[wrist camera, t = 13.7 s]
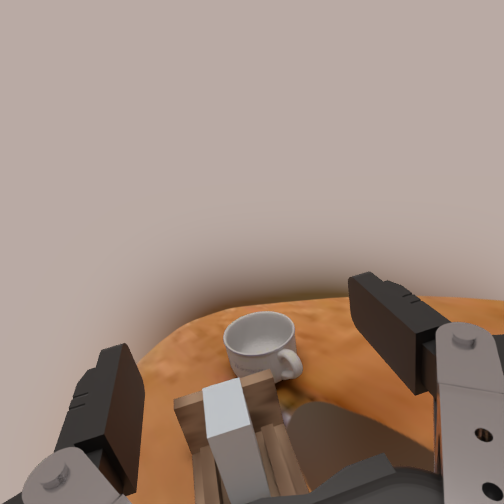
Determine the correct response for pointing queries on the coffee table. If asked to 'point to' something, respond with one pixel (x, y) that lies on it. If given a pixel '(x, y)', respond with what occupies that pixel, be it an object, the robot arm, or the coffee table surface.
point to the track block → (267, 434)
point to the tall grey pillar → (234, 442)
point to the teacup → (263, 345)
